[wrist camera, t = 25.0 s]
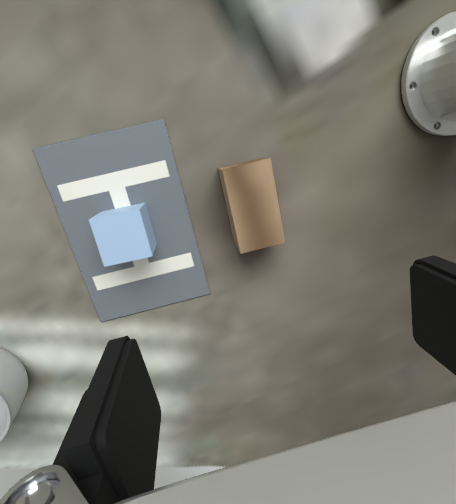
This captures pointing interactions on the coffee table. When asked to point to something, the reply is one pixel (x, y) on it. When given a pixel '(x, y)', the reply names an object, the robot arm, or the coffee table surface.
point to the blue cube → (124, 234)
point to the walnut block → (252, 204)
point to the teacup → (10, 389)
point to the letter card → (121, 195)
